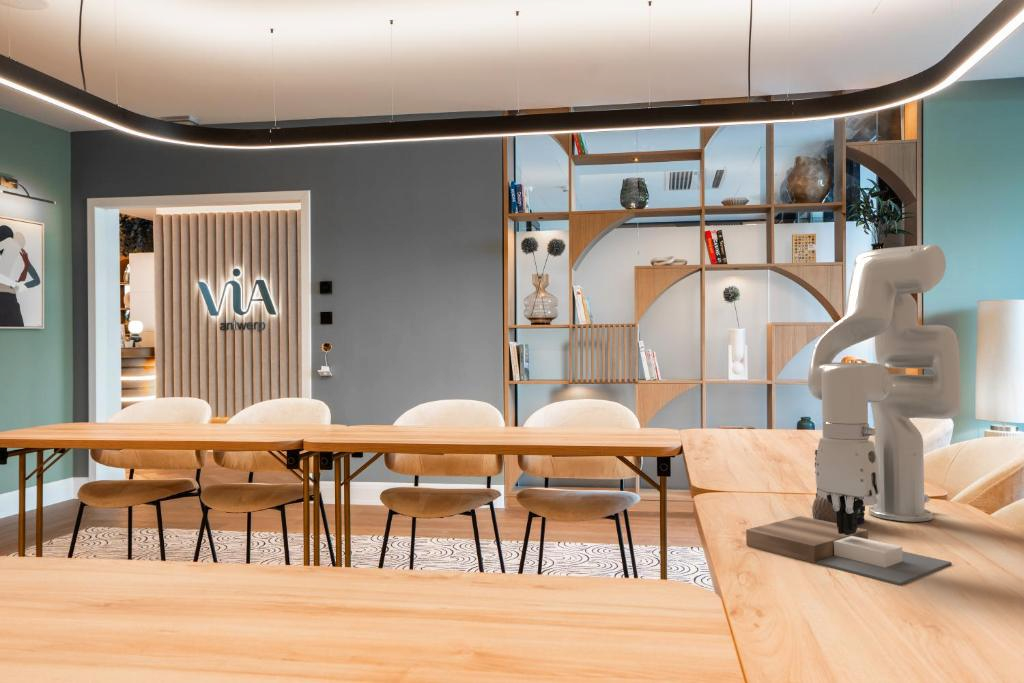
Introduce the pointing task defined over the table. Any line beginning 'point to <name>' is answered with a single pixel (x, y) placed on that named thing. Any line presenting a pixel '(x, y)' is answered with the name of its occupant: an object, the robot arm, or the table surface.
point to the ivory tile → (868, 551)
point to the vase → (823, 510)
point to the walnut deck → (799, 538)
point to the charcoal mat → (889, 567)
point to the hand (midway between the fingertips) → (847, 533)
